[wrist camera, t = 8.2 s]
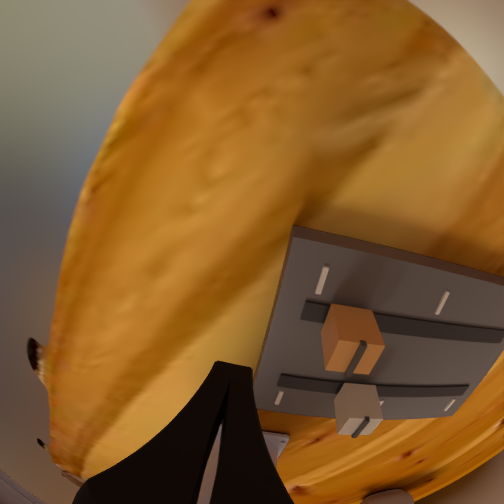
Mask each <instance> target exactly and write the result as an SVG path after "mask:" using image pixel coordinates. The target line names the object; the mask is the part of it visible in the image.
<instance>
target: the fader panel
mask: <svg viewBox="0 0 504 504" xmlns="http://www.w3.org/2000/svg"><path fill="white" fill-rule="evenodd" d="M332 303H333V304H338V305H344V306H350V307H356V308H362V309H368V310H372V312H373V314H374V317H375V319H376V322H377V325H378V327H379V330H380V333H381V335H382V338H383V341H384V343H385V348H384V349H383V351H382V353H381V355H380V356H379V358H378V360H377V362H376V363H375V365H374V367H373V368H372V370H371V372H370V373H369V375H368V374H357V373H353V374H352V376H351V377H345V373H344V372H338V371H329V370H325V365H324V355H323V347H322V338H321V330H322V328H323V325H324V322H325V320H326V317H327V315H328V312H329V309H330V306H331V304H332ZM503 350H504V278H503V277H500V276H497V275H493V274H490V273H486V272H483V271H479V270H476V269H472V268H468V267H465V266H461V265H457V264H454V263H450V262H446V261H443V260H439V259H435V258H431V257H427V256H423V255H419V254H415V253H411V252H408V251H404V250H399V249H395V248H391V247H387V246H383V245H379V244H375V243H371V242H366V241H362V240H358V239H353V238H349V237H345V236H340V235H336V234H331V233H327V232H322V231H318V230H313V229H308V228H304V227H299V226H294V225H293V226H292V230H291V235H290V239H289V243H288V247H287V251H286V256H285V260H284V264H283V268H282V272H281V276H280V280H279V284H278V288H277V292H276V296H275V300H274V304H273V308H272V312H271V316H270V319H269V323H268V327H267V331H266V335H265V338H264V342H263V346H262V349H261V353H260V357H259V360H258V364H257V368H256V371H255V375H254V378H253V390H254V398H255V403H256V408H257V409H262V410H268V411H274V412H281V413H289V414H297V415H306V416H316V417H327V418H336V415H335V405H334V399H335V398H336V396H337V395H338V393H339V391H340V390H341V388H342V386H343V384H344V383H352V384H364V385H376V389H377V394H378V398H379V402H380V406H381V410H382V415H383V420H395V419H421V418H435V417H446V416H452V415H453V414H454V413H455V412H456V411H457V410H458V409H459V407H460V406H461V405H462V404H463V403H464V402H465V401H466V399H467V398H468V397H469V396H470V395H471V393H472V392H473V391H474V390H475V388H476V387H477V386H478V385H479V383H480V382H481V381H482V379H483V378H484V377H485V375H486V374H487V373H488V371H489V370H490V369H491V367H492V366H493V364H494V363H495V362H496V360H497V359H498V357H499V356H500V354H501V353H502V351H503Z"/></svg>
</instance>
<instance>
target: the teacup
mask: <svg viewBox="0 0 504 504" xmlns="http://www.w3.org/2000/svg"><path fill="white" fill-rule="evenodd" d="M360 504H414V501H413V497H412V495H411V494H410V493H408V492H405V491H403V490H401V489H393V490H387V491H383V492H379V493H376V494H373V495H370V496H368V497H366V498H365V499H364V500H363V501H362V502H361V503H360Z"/></svg>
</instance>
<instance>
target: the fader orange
mask: <svg viewBox="0 0 504 504" xmlns="http://www.w3.org/2000/svg"><path fill="white" fill-rule="evenodd" d="M321 338H322V347H323V355H324V365H325V370H329V371H338V372H344V373H345V377H351V376H352V374H353V373H357V374H368V375H369V373H370V372H371V370H372V368H373V367H374V365H375V363H376V362H377V360H378V358H379V356H380V355H381V353H382V351H383V349H384V348H385V343H384V341H383V338H382V335H381V333H380V330H379V327H378V325H377V322H376V319H375V317H374V314H373V312H372V310H368V309H362V308H356V307H350V306H344V305H338V304H333V303H332V304H331V306H330V309H329V312H328V315H327V317H326V320H325V322H324V325H323V328H322V330H321Z"/></svg>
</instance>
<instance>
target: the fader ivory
mask: <svg viewBox="0 0 504 504" xmlns="http://www.w3.org/2000/svg"><path fill="white" fill-rule="evenodd" d="M334 405H335V415H336V426H337V434H347V435H352V438H356V437H357V436H358V435H370V434H371V433H372V432H373V430H374V429H375V428H376V427H377V426H378V425H379V424H380V422H381V421H382V420H383V415H382V410H381V406H380V402H379V398H378V394H377V389H376V385H364V384H352V383H344V384H343V386H342V388H341V390H340V391H339V393H338V395H337V396H336V398H335V399H334Z"/></svg>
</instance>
